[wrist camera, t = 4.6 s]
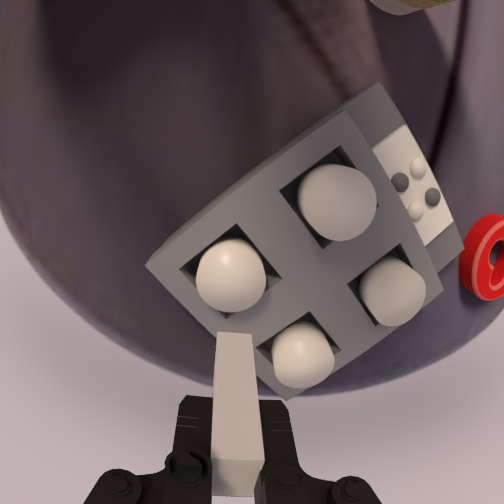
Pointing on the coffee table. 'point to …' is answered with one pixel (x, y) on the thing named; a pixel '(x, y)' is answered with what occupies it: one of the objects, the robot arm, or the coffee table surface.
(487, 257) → the decorative ornament
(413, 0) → the coffee cup
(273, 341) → the outer button
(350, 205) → the inner button
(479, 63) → the coffee table surface
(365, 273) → the outer button
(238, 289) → the inner button
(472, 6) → the coffee table surface
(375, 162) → the board
